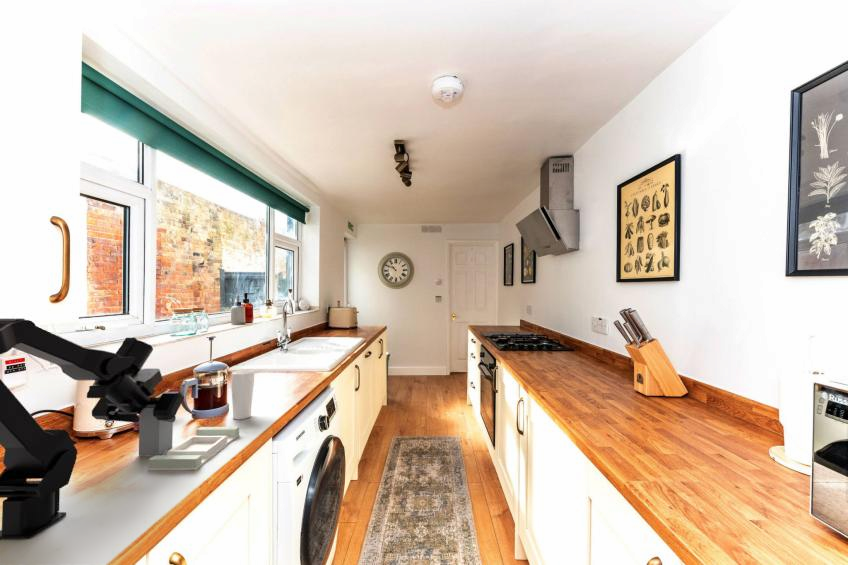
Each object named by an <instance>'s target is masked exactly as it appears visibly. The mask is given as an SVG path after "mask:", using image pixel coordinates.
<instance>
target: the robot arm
mask: <svg viewBox="0 0 848 565" xmlns="http://www.w3.org/2000/svg"><path fill="white" fill-rule="evenodd" d="M12 349H15V350H18V351H21V352H24V353H26V354H28V355H30V356H34V357H35V358H39V359H41V360H44V361H46V362H49V363H52V364H55V365H56V366H58V367H59V368H60V369H61V372H62V373H63V374H64V375H66V376H68V377H69V378H70V379H73V380H74V381H79V382H80V381H84V382H85V381H94V382H93V383H92V385H89V386H88V387H89V388H88V390H87V392H86V398H87V399H99V400H98V401H97V402H96V404H95V405H94V406H93V408H92V410H91V416H92V418H94V419H95V420H103V421H111V422H114V421H115V422H123V423H124V422H125V423H133V424H134V423H138V422H139V417H138V415H139V414H140V413H141V411H142V410H143V409H145V408H154V410H153V416H154V417H155V418H157V420H160V421H166V422H173V423H174V422H175V421H176V415H177V413H178V411H179V409H180V407H181V404H182V403H183V400H184V399H185V397H184V395H183V393H182V392H181V393H180V392H165V391H164V392H165V393H164V392H163V394H162V393H161V394H162V395H161V394H160V395H161V397H160V398H155V397H151V396H153V395H154V394H155V392H156V390H155V387H156V386H157V385H158V384H160V383H161V382H163V380H164V379H163V375H162V372H161V370H160V368H143V366H144V365H145V363H146V362H147V361H148V359H149V357H150V356H151V354H152V353H153V351H154V348H153V346H152V345H151V344H149V343H146V342H145V341H142V340H138V339H137V338H136V337H126V338H124V340H123V342H122V344H121V345H120V347H119V348H118V350H116V352H112V351H111V352H110V351H107V350H103V349H96V348H95V349H94V348H88V347H84V346H83V345H79V344H78V343H75V342H74V341H72V340H69V339H66V338H65V337H63V336H60V335H58V334H56V333H54V332H52V331H49V330H48V329H45V328H43V327H41V326H39V325H37V324H35V323H34V322H33V321H32V320H30V319H27V318H0V355H3V354H5V353H8V352H9V351H11V350H12ZM77 444H78V441H75V440H74V439H73V438H72V437H71V436H70V433H69V431H67V430H66V429H62V428H61V429H53V428H52V429H48V428H47V429H43V427H42V426H41V425H40V424H39V422H38V421H37V420H36V419H35V418H34V417H33V415H32V414H31V413H30V412H29V411H28V409H26V407H25V406H24V404H22V403H21V401H20V400H19V399H18V398H17V397H16V396H15V394H14V393H13V392H12V391H11V390H10V388H9V387H8V386H7V385H6V384H5V382H3V381H2V379H1V378H0V445H1V447H2V448H3V449H4V455H3V459H2V463H3V465H4V469H3V470H2V472H1V473H0V498H1V499H2V498H5V499H3V500H2V510H1V512H2V513H1V529H0V540H4V539H5V540H7V539H8V540H9V539H11V540H12V539H15V540H16V539H24V540H25V539H30V538H33V537H34V536H36V535H37V534H39V533H41V532H42V531H44V530H45V529H47V528H48V527H50V526H52V525H53V524H55V523H56V522H58V521H60V520H61V519H62V518H65V517H66V516H67V512H66V511H60V491H61V490H60V489H62V488H64V487H66V486H68V485H69V484H70V481H71V480H70V479H71V478H72V477H71V476H72V473H73V471H74V467H75V464H76V462H77V457H78V456H77V455H78V450H77V447H76V446H75V445H77ZM32 479H33V480H32ZM37 479H38V480H37ZM40 479H41V480H40Z"/></svg>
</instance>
